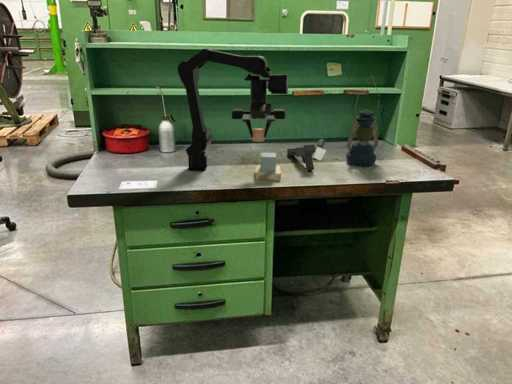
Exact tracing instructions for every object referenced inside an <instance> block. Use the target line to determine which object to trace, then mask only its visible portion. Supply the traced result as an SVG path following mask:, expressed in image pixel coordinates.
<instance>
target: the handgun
mask: <svg viewBox="0 0 512 384" xmlns="http://www.w3.org/2000/svg"><path fill="white" fill-rule="evenodd" d="M286 151H287V152H286V156H289V157H291V156H292V157H299V158H301V159H302V160H301V162H302V163H303V164H305V167H306V168H305V169H306V171H307V172H311V171H313V170H314V169H315V167H314V161H313V157H312V156H313V154H315V152H316V146H315V144H305V145H303V146H302V147H295V148H294V147H293V148H287V149H286Z"/></svg>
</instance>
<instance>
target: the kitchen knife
mask: <svg viewBox="0 0 512 384" xmlns="http://www.w3.org/2000/svg"><path fill="white" fill-rule="evenodd" d="M325 143H326V140H325V139H323V138H320V139H318V141H317V144H316V148H315V152H314V153H313V154H314V155H312V156H313V157H312V159H315V160H317V161H321V160H322V159H323V158H324V156H325V153H326V152H327V150H326V149H325V148H323V146H324V145H325Z"/></svg>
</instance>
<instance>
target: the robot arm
mask: <svg viewBox="0 0 512 384" xmlns="http://www.w3.org/2000/svg"><path fill="white" fill-rule="evenodd" d="M208 62H211V63H216V64H222V65H225V66H226V65H227V66H231V67H235V68H236V67H237V68H240V69H242V70H244V71H246V72H249V73H248V74H247V76H246V77H245V78H244V79H243V80H244V81H245V82H246V81H249V82H250V84H249V85H250V91H249V93H250V94H249V95H250V101H249V102H250V105H249V110H244V108H233V110H232V112H231V119H232V120H241V122H244V123H245V124H246V127H247V129H248V131H249V135H250V137H251V139H252V138H253V137H252V129H253V127H252V119H253V120H256V119H261V120H264V119H265V126H264V127H265V128H264V129H265V131H264V139H265V138H266V137H267V134H268V132H269V128H270V126H271V124H272V123H273V122H275V121H276V120H286V110H285V109H284V108H273V110H272V103H268V99H267V98H268V97H267V96H268V95H267V93H268V92H269V93H270V94H271V95H288V93H289V85H290V84H289V78H288V76H289V74H288V73H283V74H280V73H279V74H277V73H276V74H274V73H273V71H272V70H271V68H270V67H269V62H268V60H267V59H266V57H265V56H263V55H239V54H234V53H229V52H224V51H220V50H215V49H211V48H209V47H208V48H203V49H201V50H200V51H199V52H198V53H196V54H195V55H193V56H192V57H191V58H190V59H188V60H184V61H181V62H180V63H179V64H178V66H177V73H178V77H179V79H180V81H181V83H182V85H183V86H184V88H185V92H186V93H185V94H186V97H187V104H188V110H189V114H190V119H191V120H190V121H191V124H192V125H191V126H192V129H191V130H192V131H191V144H190V145H189V146H188V147H186V149H185V152H186V154H187V158H188V159H187V160H188V167H187V170H188V171H206V169H207V168H208V165H209V164H208V155H206V152H207V151H206V150H207V148H208V147H209V146H210V145H211V144H212V139H213V138H214V137H213V136H212V128H211V127H209V128H208V127H207V126H206V124H205V119H204V113H203V108H202V102H201V96H200V92H199V91H200V90H199V81H200V70H201V69H202V68H203V66H205V65H206V64H207V63H208ZM253 74H254V75H253ZM267 91H268V92H267Z"/></svg>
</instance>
